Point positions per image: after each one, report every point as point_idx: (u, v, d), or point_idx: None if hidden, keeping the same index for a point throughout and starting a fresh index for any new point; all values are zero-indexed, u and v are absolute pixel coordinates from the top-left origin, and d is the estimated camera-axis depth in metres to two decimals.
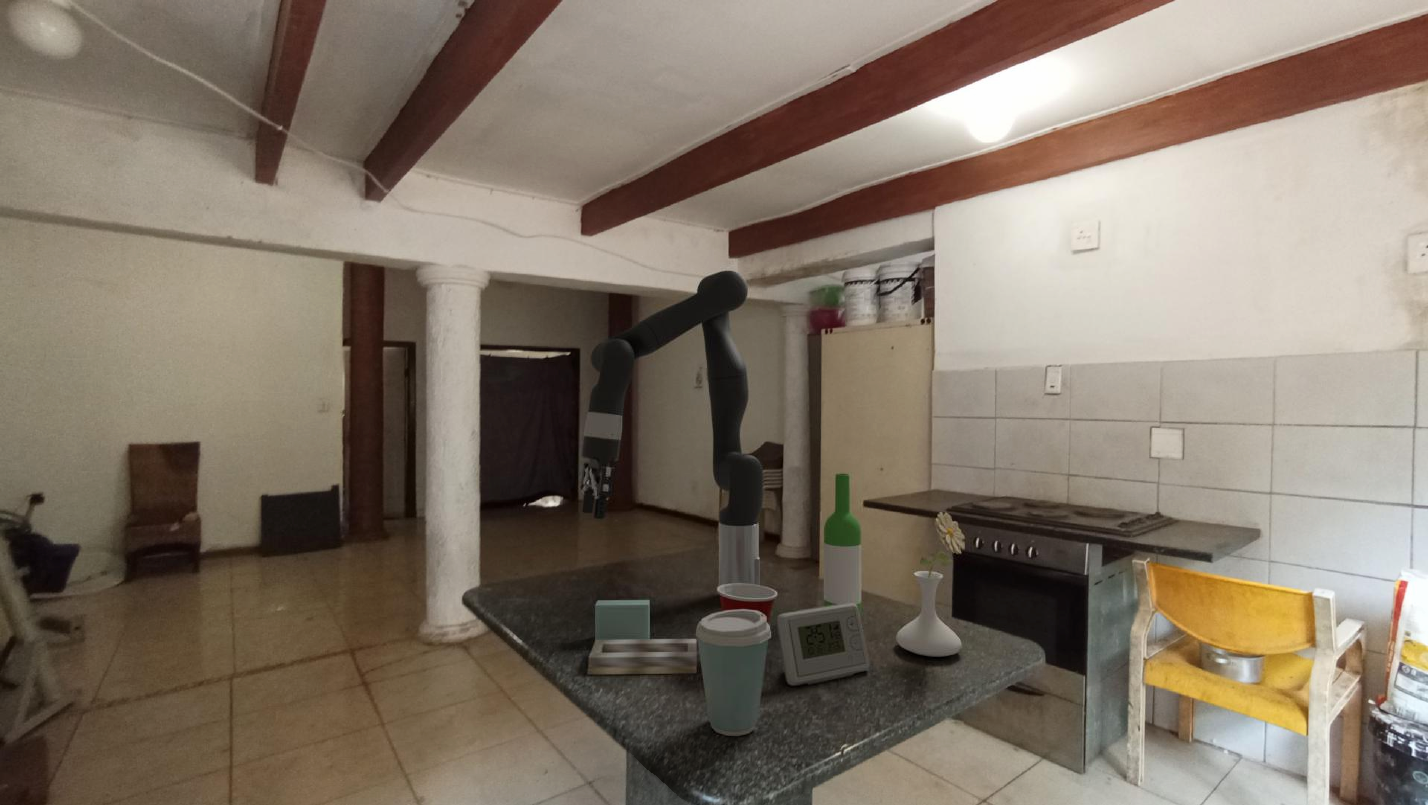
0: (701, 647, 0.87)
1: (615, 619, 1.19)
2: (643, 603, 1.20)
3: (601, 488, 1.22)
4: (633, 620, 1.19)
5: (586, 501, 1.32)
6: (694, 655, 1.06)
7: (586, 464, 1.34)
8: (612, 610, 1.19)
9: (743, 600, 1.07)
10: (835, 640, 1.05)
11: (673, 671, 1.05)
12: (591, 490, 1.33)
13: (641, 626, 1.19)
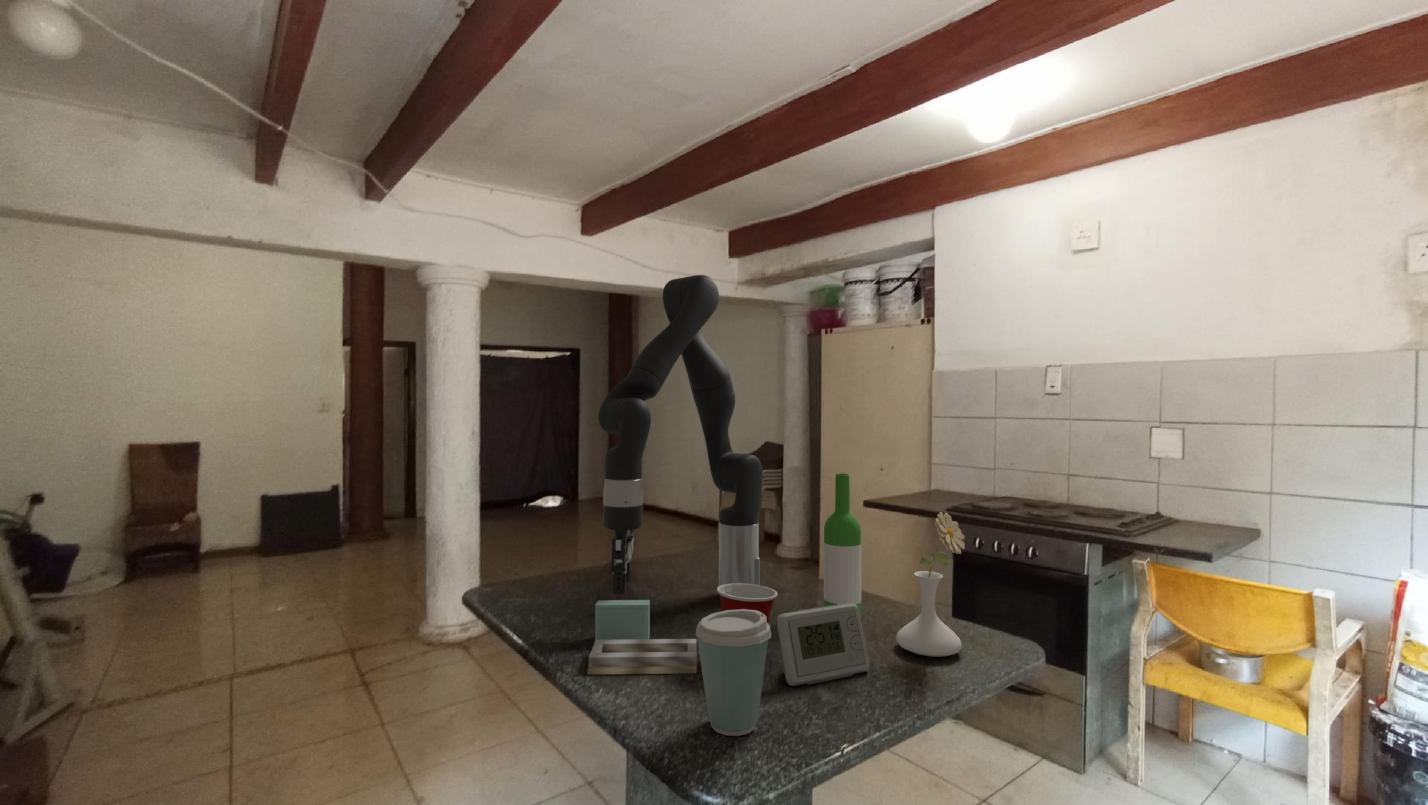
0: (701, 647, 0.87)
1: (615, 619, 1.19)
2: (643, 603, 1.20)
3: (612, 563, 1.14)
4: (633, 620, 1.19)
5: None
6: (694, 655, 1.06)
7: None
8: (612, 610, 1.19)
9: (743, 600, 1.07)
10: (835, 640, 1.04)
11: (673, 671, 1.05)
12: None
13: (641, 626, 1.19)
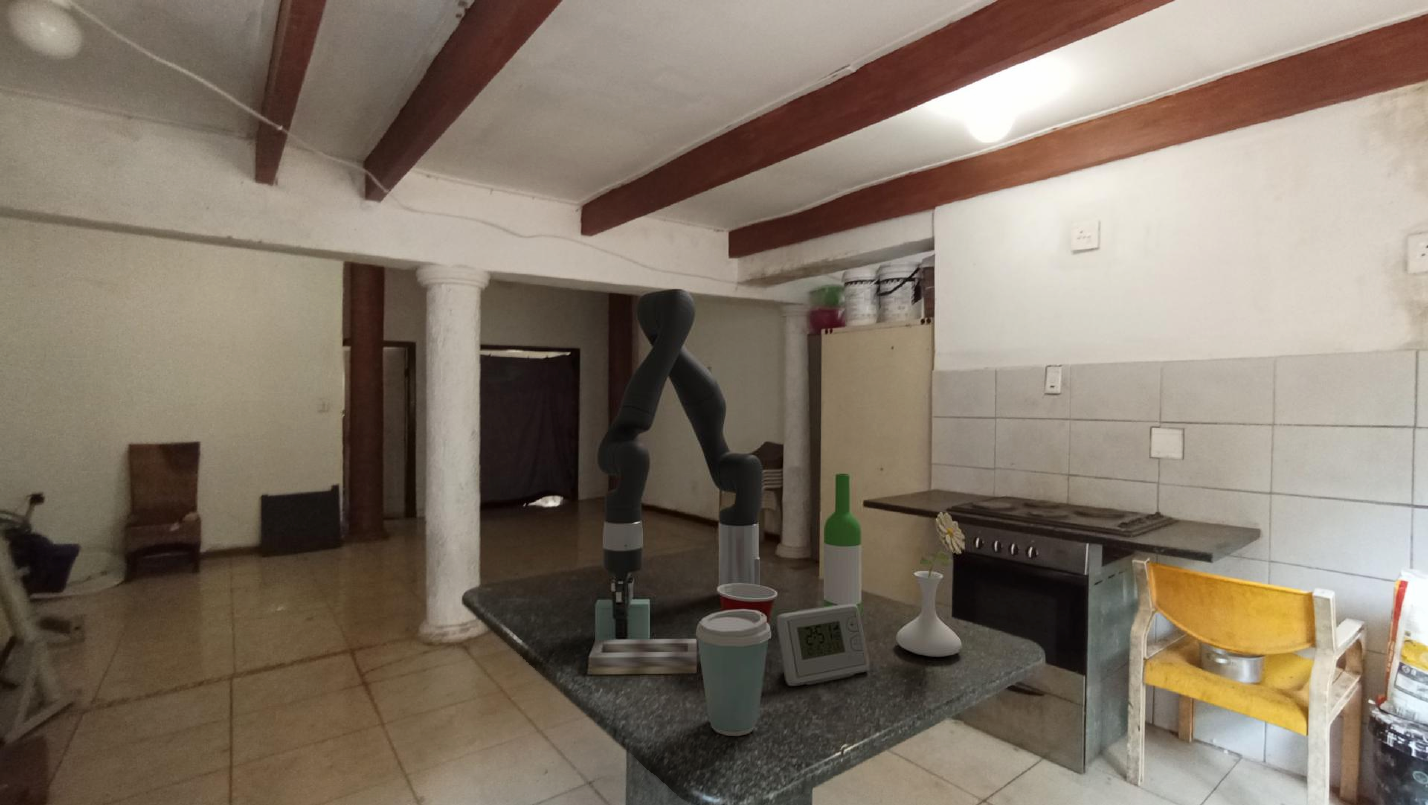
0: (701, 647, 0.87)
1: None
2: (643, 602, 1.21)
3: (613, 613, 1.15)
4: (633, 620, 1.19)
5: None
6: (694, 655, 1.06)
7: None
8: (612, 609, 1.19)
9: (743, 600, 1.07)
10: (835, 640, 1.04)
11: (673, 671, 1.05)
12: None
13: (641, 625, 1.19)
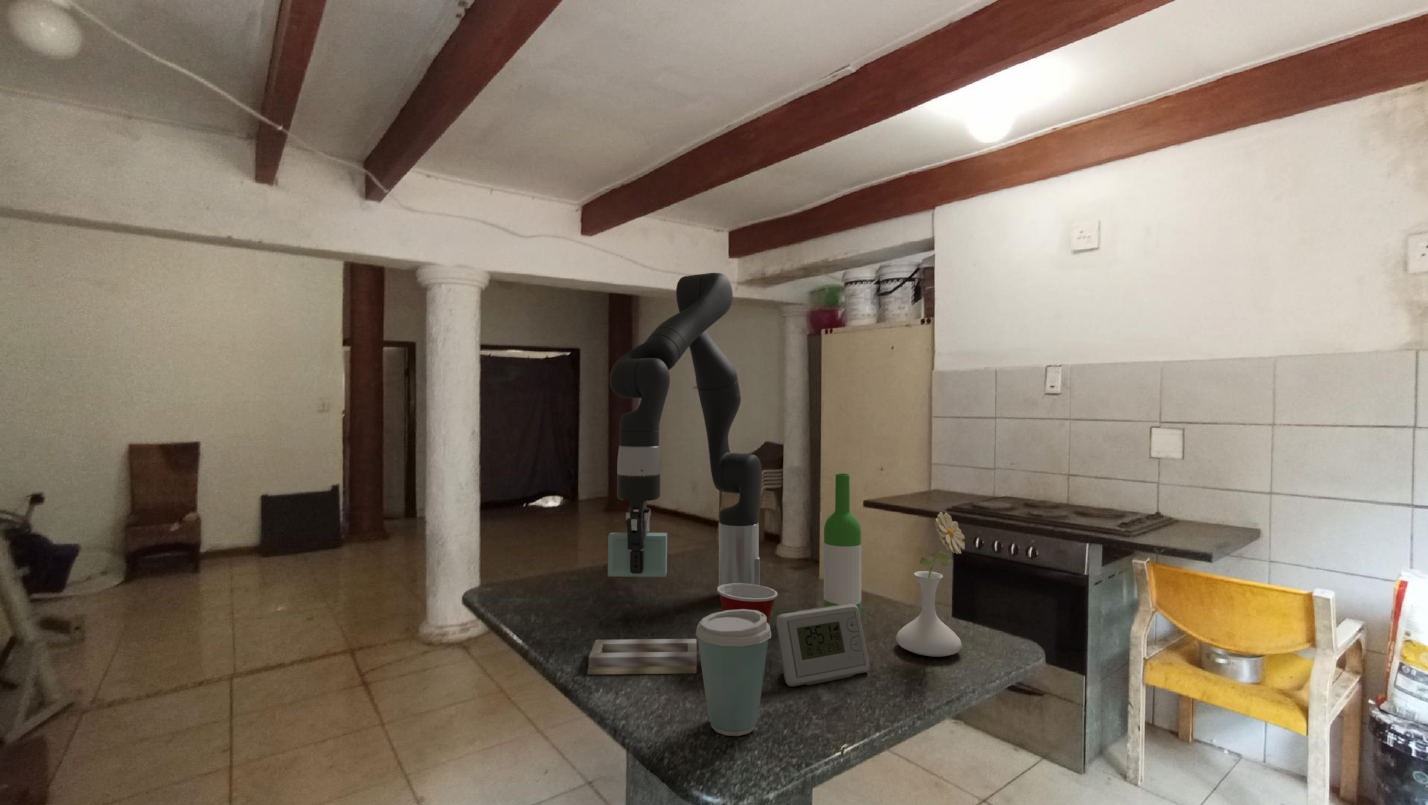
0: (701, 647, 0.87)
1: None
2: (660, 534, 1.11)
3: (628, 542, 1.06)
4: (649, 553, 1.09)
5: None
6: (694, 655, 1.06)
7: None
8: (626, 541, 1.09)
9: (743, 600, 1.07)
10: (835, 641, 1.04)
11: (673, 671, 1.05)
12: None
13: (658, 559, 1.09)
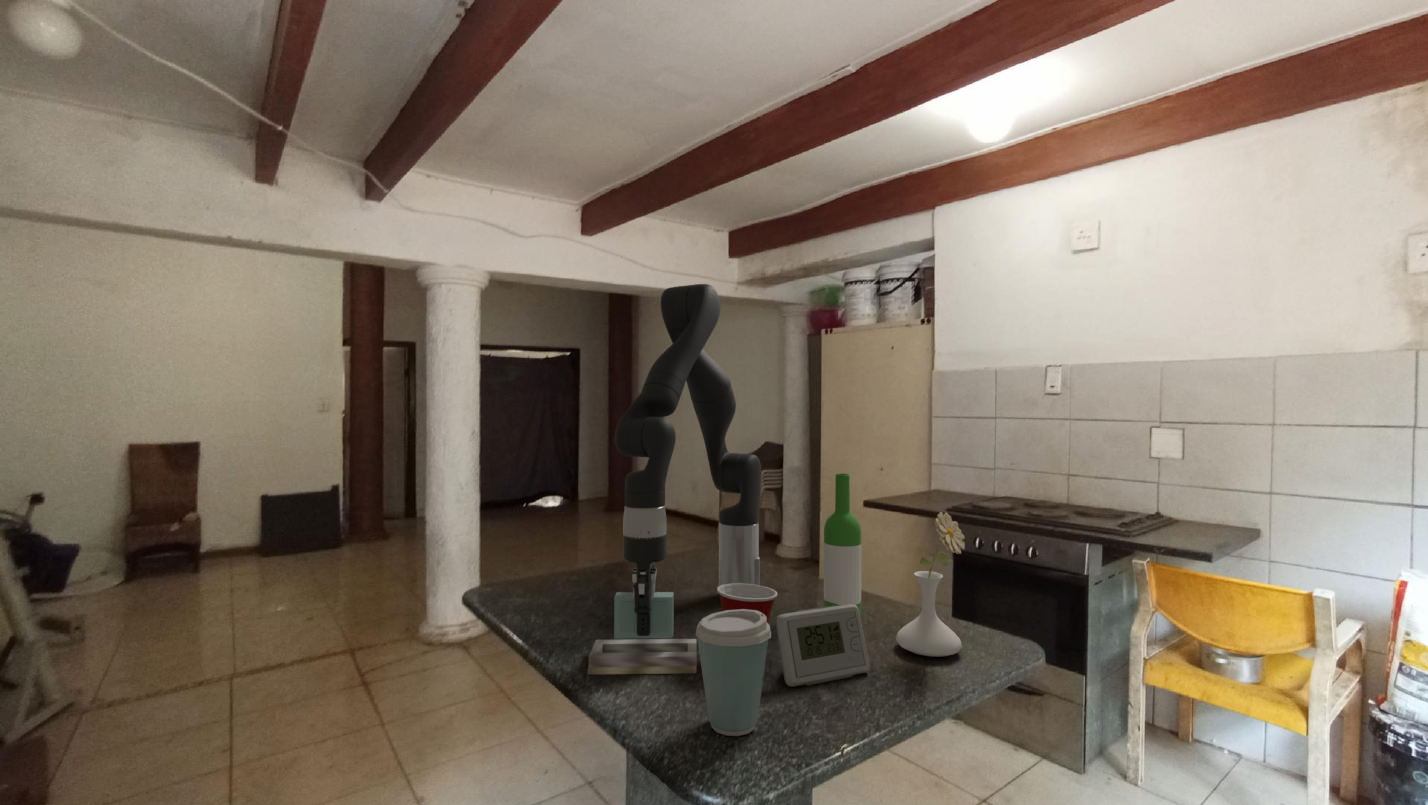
0: (701, 647, 0.87)
1: None
2: (667, 595, 1.10)
3: (635, 606, 1.05)
4: (656, 614, 1.08)
5: None
6: (694, 655, 1.06)
7: None
8: (633, 603, 1.08)
9: (743, 600, 1.07)
10: (835, 641, 1.04)
11: (673, 671, 1.05)
12: None
13: (665, 621, 1.08)
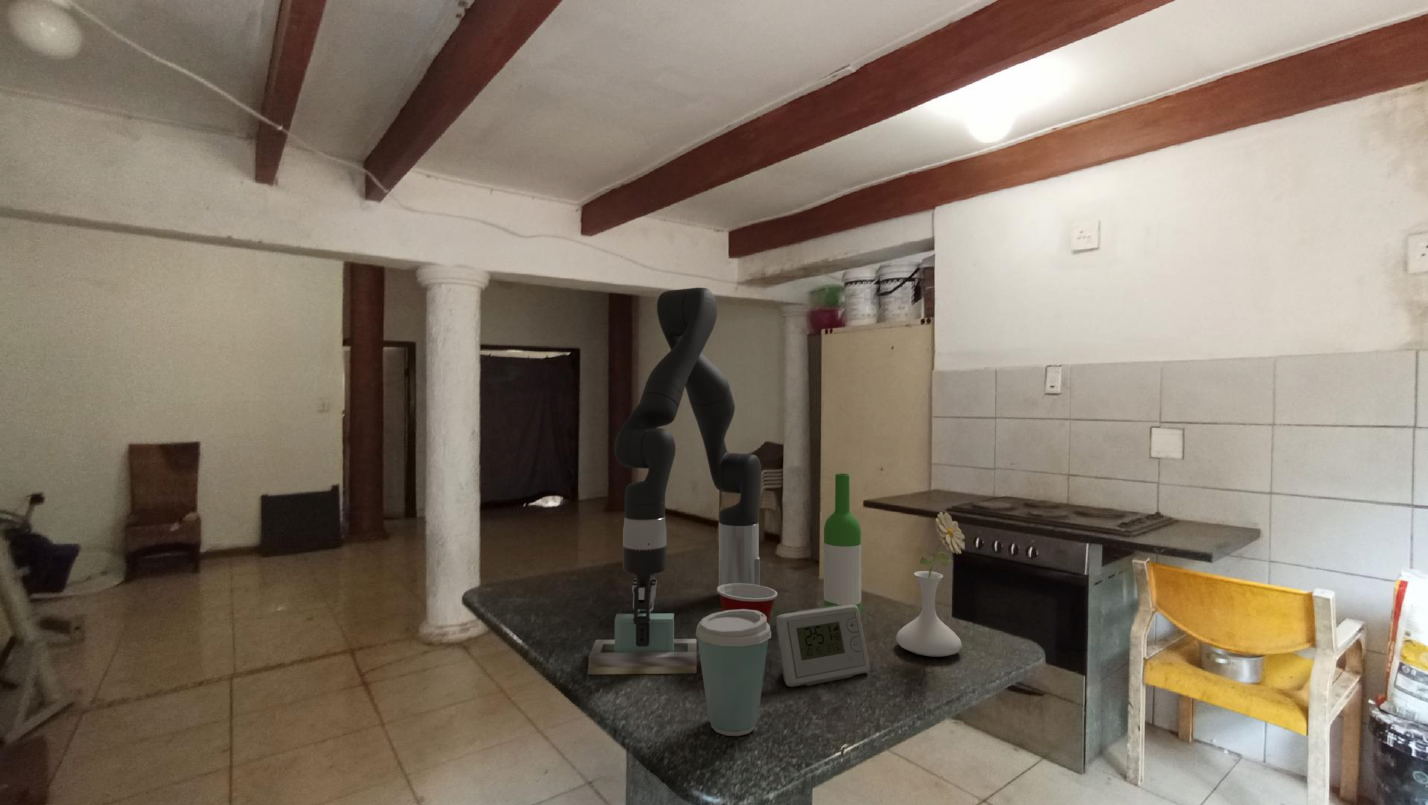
0: (701, 647, 0.87)
1: None
2: (667, 617, 1.10)
3: (635, 614, 1.03)
4: (656, 636, 1.08)
5: None
6: (694, 655, 1.06)
7: None
8: (633, 625, 1.08)
9: (743, 599, 1.07)
10: (835, 641, 1.04)
11: (673, 671, 1.05)
12: None
13: (665, 643, 1.08)
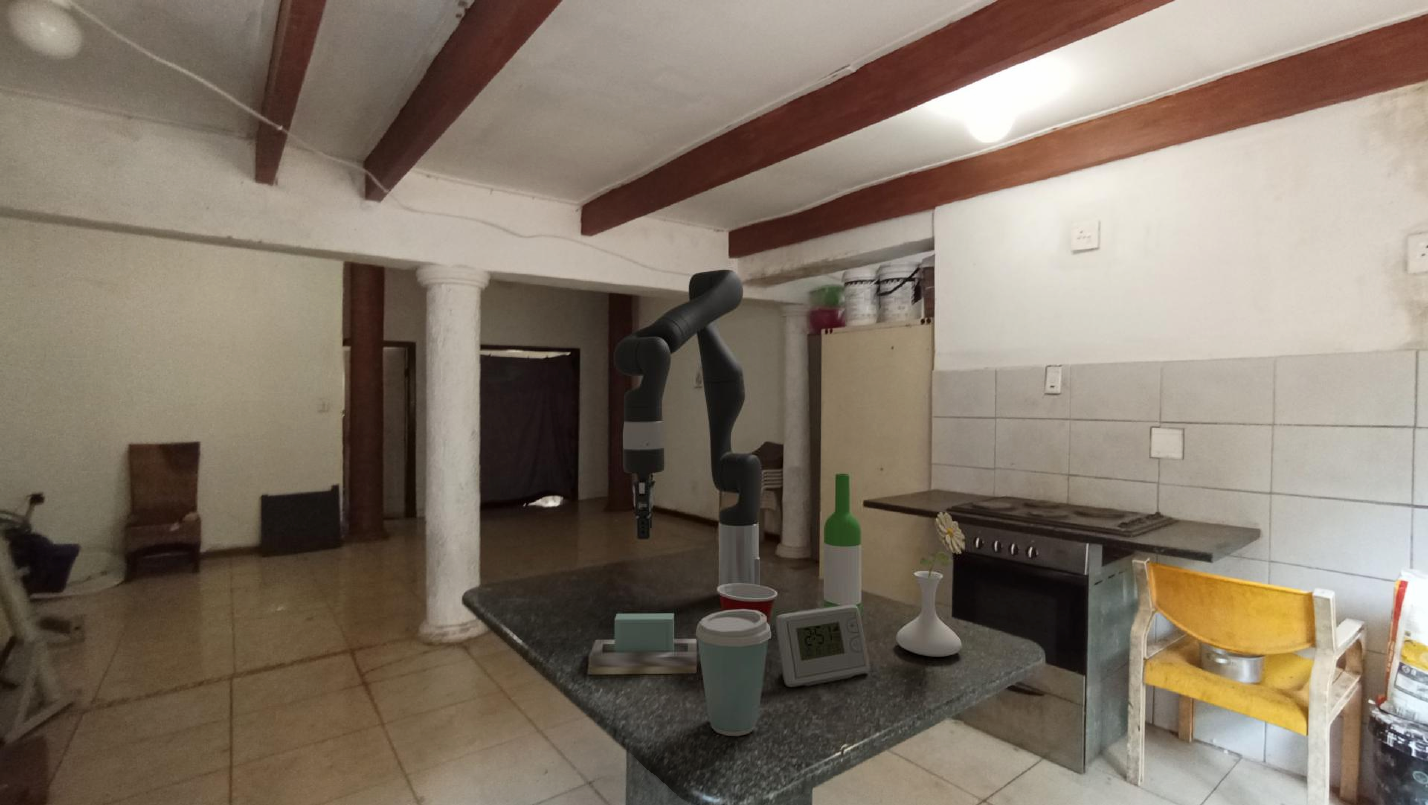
0: (701, 647, 0.87)
1: (636, 635, 1.08)
2: (667, 617, 1.10)
3: (636, 507, 1.10)
4: (656, 636, 1.08)
5: None
6: (694, 655, 1.06)
7: None
8: (633, 625, 1.08)
9: (743, 600, 1.07)
10: (835, 641, 1.04)
11: (673, 671, 1.05)
12: None
13: (665, 643, 1.08)
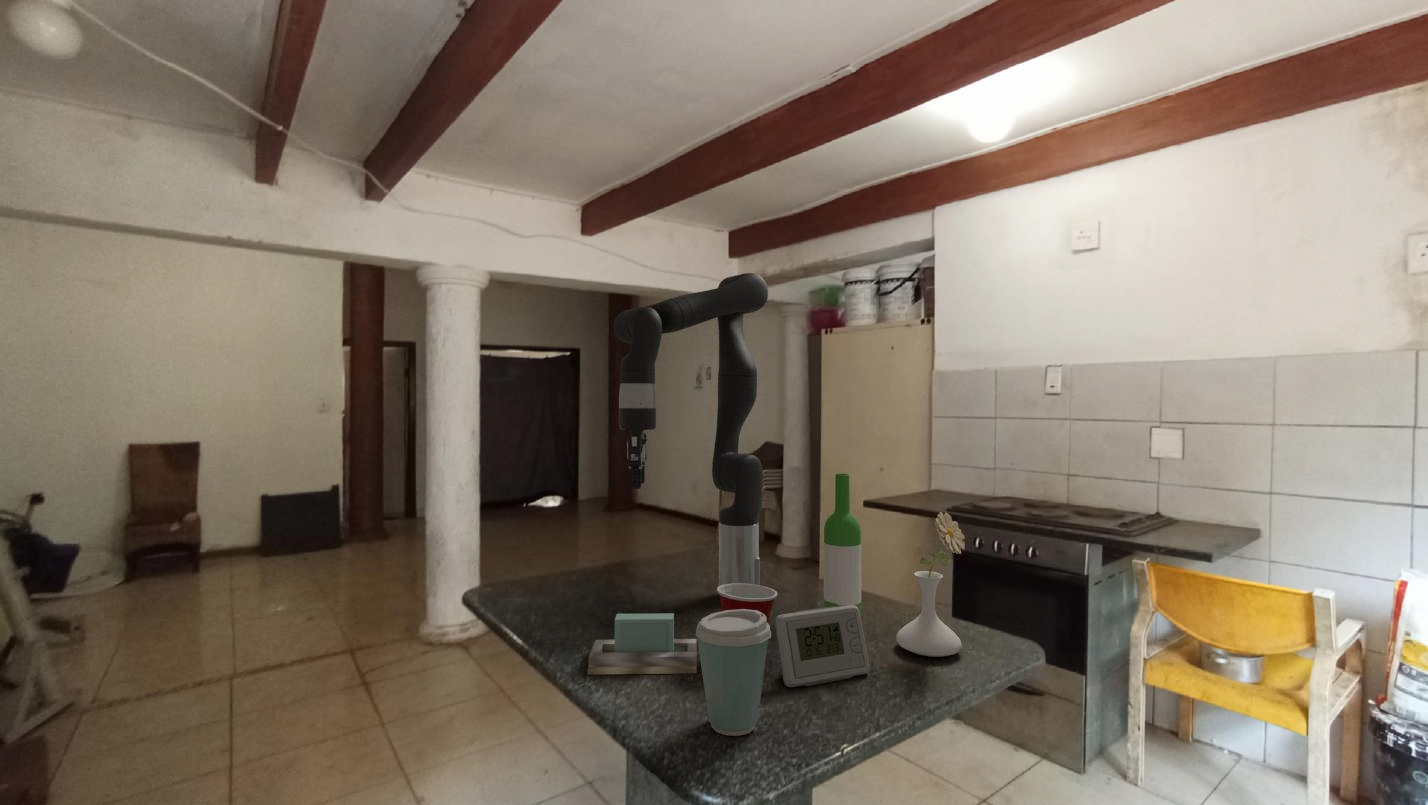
0: (701, 647, 0.87)
1: (636, 635, 1.08)
2: (667, 617, 1.10)
3: (628, 458, 1.22)
4: (656, 636, 1.08)
5: None
6: (694, 655, 1.06)
7: None
8: (633, 625, 1.08)
9: (743, 600, 1.07)
10: (835, 642, 1.04)
11: (673, 671, 1.05)
12: (641, 461, 1.33)
13: (665, 643, 1.08)
